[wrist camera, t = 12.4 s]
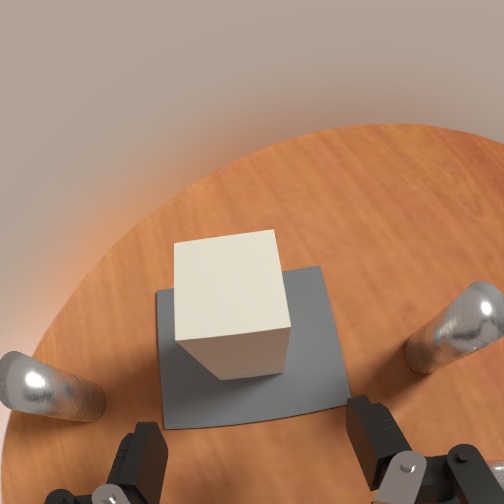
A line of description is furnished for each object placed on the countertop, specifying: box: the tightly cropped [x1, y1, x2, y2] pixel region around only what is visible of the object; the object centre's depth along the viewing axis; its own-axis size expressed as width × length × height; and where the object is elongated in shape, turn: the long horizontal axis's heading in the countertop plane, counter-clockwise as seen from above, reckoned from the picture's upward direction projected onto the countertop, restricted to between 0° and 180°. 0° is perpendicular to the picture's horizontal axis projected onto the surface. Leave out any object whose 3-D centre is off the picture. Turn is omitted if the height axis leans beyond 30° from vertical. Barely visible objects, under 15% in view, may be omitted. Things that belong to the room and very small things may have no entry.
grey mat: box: [157, 266, 351, 429], centre depth 20 cm, size 12×10×1 cm
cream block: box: [174, 230, 291, 380], centre depth 16 cm, size 4×4×10 cm
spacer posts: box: [0, 281, 504, 491], centre depth 13 cm, size 27×13×8 cm, turn 98°
